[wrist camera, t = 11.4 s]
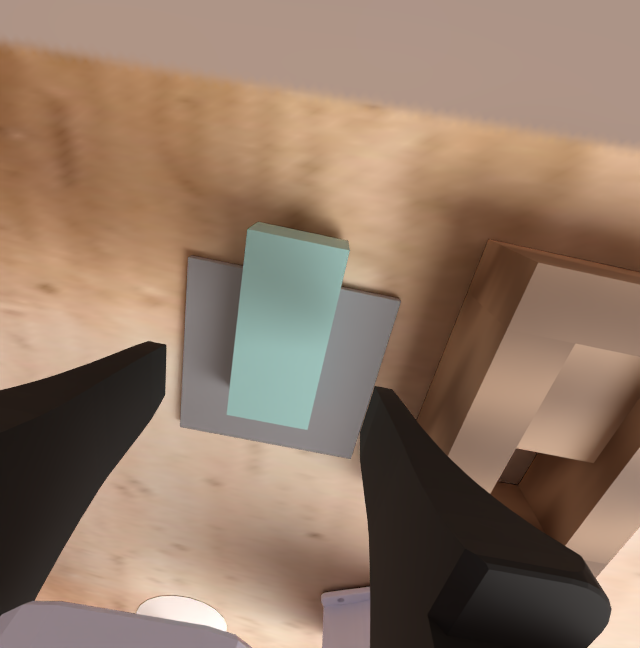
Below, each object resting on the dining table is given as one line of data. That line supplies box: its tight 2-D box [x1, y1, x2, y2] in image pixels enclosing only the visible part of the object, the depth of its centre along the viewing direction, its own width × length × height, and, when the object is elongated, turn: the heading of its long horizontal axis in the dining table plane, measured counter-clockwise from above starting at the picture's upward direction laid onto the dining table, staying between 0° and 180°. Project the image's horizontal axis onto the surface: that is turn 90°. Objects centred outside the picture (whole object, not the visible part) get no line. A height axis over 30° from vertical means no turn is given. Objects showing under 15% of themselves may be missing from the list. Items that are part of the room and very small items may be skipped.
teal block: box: [227, 222, 350, 430], centre depth 16 cm, size 9×4×2 cm, turn 169°
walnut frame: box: [417, 239, 640, 578], centre depth 17 cm, size 16×10×4 cm, turn 169°
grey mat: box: [180, 255, 401, 459], centre depth 18 cm, size 10×10×1 cm
